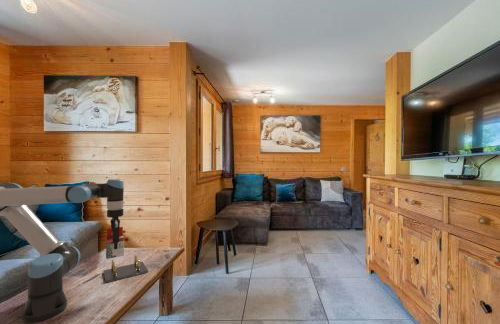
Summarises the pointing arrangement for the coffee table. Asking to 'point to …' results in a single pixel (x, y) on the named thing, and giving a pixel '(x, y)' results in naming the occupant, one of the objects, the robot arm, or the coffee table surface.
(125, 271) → the plate
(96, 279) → the coffee table surface
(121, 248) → the ink box
